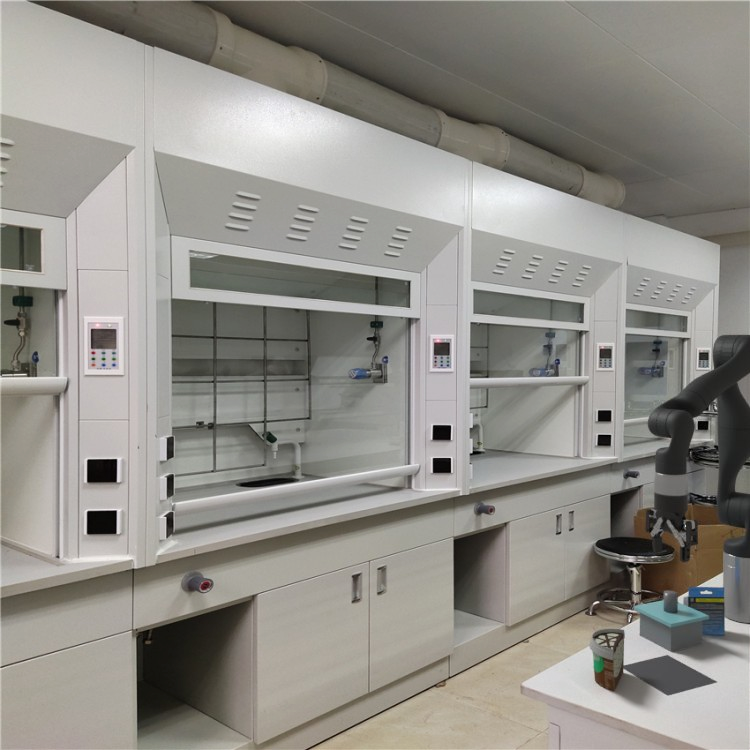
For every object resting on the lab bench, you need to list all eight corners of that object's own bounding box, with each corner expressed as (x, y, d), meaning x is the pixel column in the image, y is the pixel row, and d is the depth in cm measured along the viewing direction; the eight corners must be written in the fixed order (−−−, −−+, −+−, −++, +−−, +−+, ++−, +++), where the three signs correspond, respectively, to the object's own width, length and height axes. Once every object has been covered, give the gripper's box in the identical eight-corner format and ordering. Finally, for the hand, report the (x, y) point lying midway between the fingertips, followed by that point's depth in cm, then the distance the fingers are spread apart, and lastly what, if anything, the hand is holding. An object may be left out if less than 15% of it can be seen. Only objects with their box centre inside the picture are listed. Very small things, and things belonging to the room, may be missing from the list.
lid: (670, 601, 177) (670, 581, 177) (708, 618, 166) (709, 597, 166) (633, 609, 172) (633, 588, 172) (670, 627, 161) (670, 605, 161)
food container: (596, 666, 157) (596, 623, 157) (624, 672, 154) (624, 628, 154) (582, 690, 147) (582, 644, 146) (612, 697, 144) (612, 650, 143)
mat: (667, 657, 161) (667, 654, 161) (717, 684, 148) (717, 681, 148) (620, 668, 156) (620, 666, 156) (667, 698, 143) (667, 695, 143)
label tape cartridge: (718, 629, 176) (719, 582, 176) (725, 635, 172) (725, 587, 172) (682, 628, 177) (683, 581, 177) (688, 635, 173) (688, 586, 173)
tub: (670, 630, 176) (670, 603, 176) (702, 646, 167) (702, 618, 166) (639, 637, 172) (639, 610, 172) (670, 654, 163) (670, 625, 163)
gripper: (706, 495, 162) (706, 562, 163) (660, 483, 176) (660, 546, 176) (682, 498, 160) (681, 567, 160) (637, 486, 173) (637, 550, 174)
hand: (670, 556), depth 168 cm, fingers open, 8 cm apart
